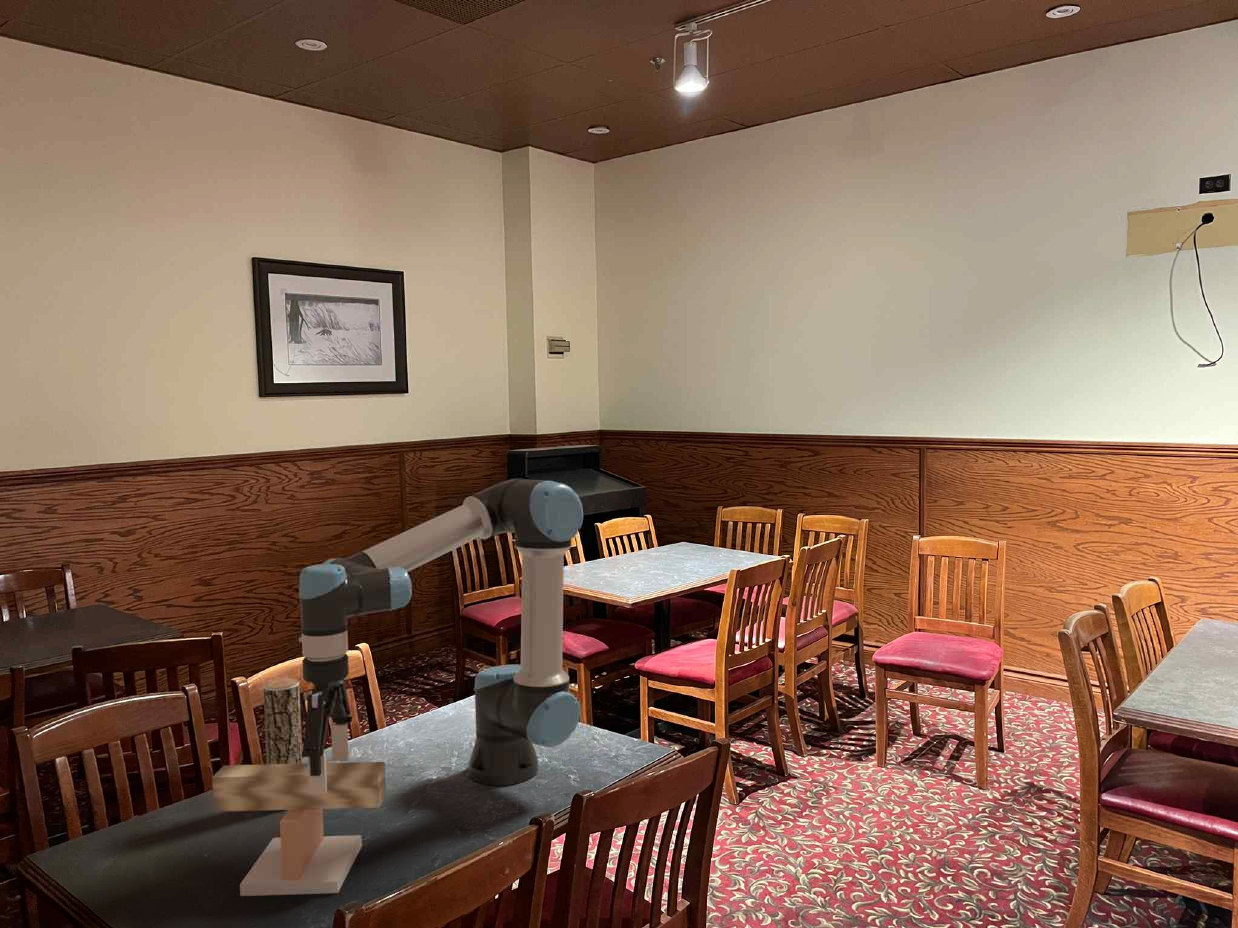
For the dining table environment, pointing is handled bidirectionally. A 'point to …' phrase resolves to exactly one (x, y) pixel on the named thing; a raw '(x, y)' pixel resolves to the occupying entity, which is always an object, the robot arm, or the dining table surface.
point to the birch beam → (297, 787)
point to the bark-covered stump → (282, 721)
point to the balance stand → (302, 858)
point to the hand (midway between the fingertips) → (329, 775)
